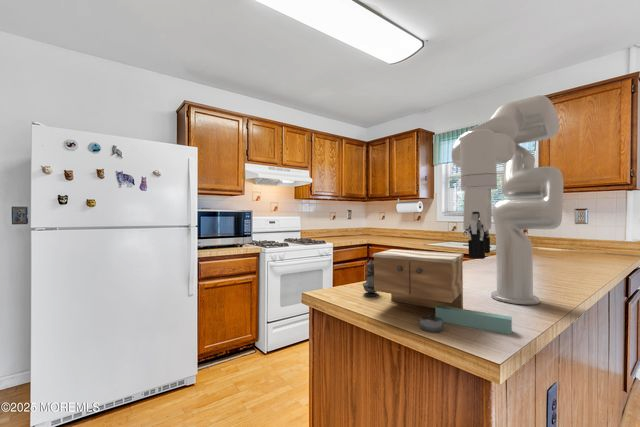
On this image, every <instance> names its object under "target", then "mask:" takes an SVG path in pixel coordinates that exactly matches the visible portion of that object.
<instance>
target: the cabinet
mask: <svg viewBox="0 0 640 427" xmlns="http://www.w3.org/2000/svg"><path fill="white" fill-rule="evenodd" d="M464 255H465V254H464V253H460V252H443V251H431V250H430V251H428V250H413V249H411V250H410V249H397V248H396V249H395V248H391V249H387V250H384V251H379V252H374V253H372V258H373V262H374V291H377V293H378V292H379V293H385V294H390V295H391V296H390V302H391V301H392V302H396V303H403V304H409V305H413V306H420V307H424V308H425V307H427V308H432V309H435V307H436V306H437V305H441V306H447V307H454V308H460V309H464V298H463V297H464V292H463V291H464V288H463V286H464V285H463V284H464V281H463V278H464V276H463V258H464V257H465V256H464Z"/></svg>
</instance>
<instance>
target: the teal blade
mask: <svg viewBox="0 0 640 427" xmlns="http://www.w3.org/2000/svg"><path fill="white" fill-rule="evenodd" d="M434 309H435V316H436V317H439V318H441V319H443V323H446V324H447V323H448V324H454V325H459V326H464V327H470V328H473V329H474V328H475V329H479V330H485V331H491V332H496V333H501V334H507V335H512V333H513V332H512V331H513V329H512V328H513V324H512V323H513V320H512V319H513V317H512V316H510V315H503V314H497V313H490V312H486V311H485V312H484V311H479V310H472V309H465V308H463V309H460V308H454V307H447V306H441V305H437V306H436V307H435V308H434Z"/></svg>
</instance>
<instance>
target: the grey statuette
mask: <svg viewBox="0 0 640 427" xmlns="http://www.w3.org/2000/svg"><path fill="white" fill-rule="evenodd" d="M365 274H366V281H365V282H363V283H362V286H363V290H364V291H365V292H364V293H363V294H362V295H363V296H364V297H365V298H378V297H380V294H379V293H378V291H374V261H373V260H372V259H370V260H369V262H367V263H366V272H365Z"/></svg>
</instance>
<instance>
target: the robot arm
mask: <svg viewBox="0 0 640 427" xmlns="http://www.w3.org/2000/svg"><path fill="white" fill-rule="evenodd" d="M559 131H560V119H559V116H558V113H557V111H556V108H555V106H554V103H553V102H552V101H551V99H549V97H547V96H545V95H534V96H530V97H527V98H522V99H518V100H513V101H510V102H507V103H505V104H503V105H501V106H499V107H498V108H497V109H496V111H495V112H494V114H492V116H491V117H490V119H489V120H486V121H484V122H482V123H480V124H479V125H476V126H475V127H472V128H470V129H468V130H466V131H465V132H463V133H462V134H461V135H459V137H458V138H457V140H456V141H455V142H454V144H453V145H452V150H451V160H452V162H453V164H454V165H455V166H456V167H457V168H459V169H460V191H464V194H463V221H462V222H463V224H462V225H463V227H462V228H463V231H464V232H469V233H468V241H467V242H468V258H469V259H478V260H485V259H486V254H490V253H491V237H490V231H489V230H491V228H492V221H493V224H494V229H495V230H494V231H495V247H496V248H495V249H496V250H495V253H496V254H495V255H496V266H495V268H496V290H494V291H492V292H491V293H490V294H491V297H492V298H493V300H497V301H500V302H503V303H509V304H514V305H523V306H525V305H528V306H529V305H537V304H540V303H541V302H540V297H538V296H537V295H534V270H533V269H534V266H533V265H534V264H533V262H534V261H533V259H534V258H533V255H534V253H533V242H532V241H531V239H530V238H529V237H528V235H526V234H525V232H523V230H555V229H557V228H559V227H560V226H561V223H562V221H563V220H562V219H563V212H564V210H563V207H564V206H563V204H564V203H563V202H564V177H563V174H562V171H561V170H560V169H559V168H558V167H556V166H539V167H538V166H537V167H535V165H536V164H535V161H536V159H535V155H533V153H532V152H530V151H529V150H528V149H527V148H526V147H523V146H522V145H520V144H524V143H533V142H538V141H545V140H551V139H553V138H554V137H556V136H557V135H558V133H559ZM501 164H503V170H502V171H503V172H502V179H501V193H502V194H503V196H504V197H506V199H500V200H498V201H497V202H495V203H494V204H492V190H496V189H498V186H497V185H498V183H497V182H498V180H497V179H498V176H497V169H498V168H497V165H501ZM492 205H493V207H492ZM492 219H493V220H492Z"/></svg>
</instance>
